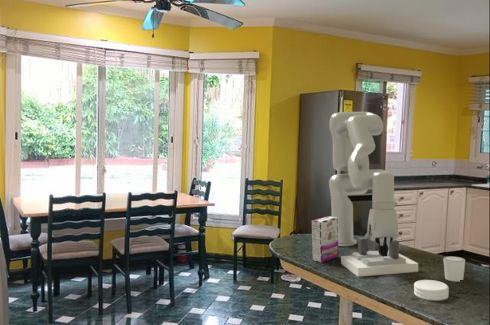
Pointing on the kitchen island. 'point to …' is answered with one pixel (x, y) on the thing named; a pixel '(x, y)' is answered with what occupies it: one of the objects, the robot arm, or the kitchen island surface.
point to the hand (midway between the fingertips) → (383, 255)
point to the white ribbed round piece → (431, 290)
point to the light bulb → (370, 243)
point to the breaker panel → (378, 268)
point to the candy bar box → (325, 239)
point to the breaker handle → (394, 249)
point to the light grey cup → (454, 268)
